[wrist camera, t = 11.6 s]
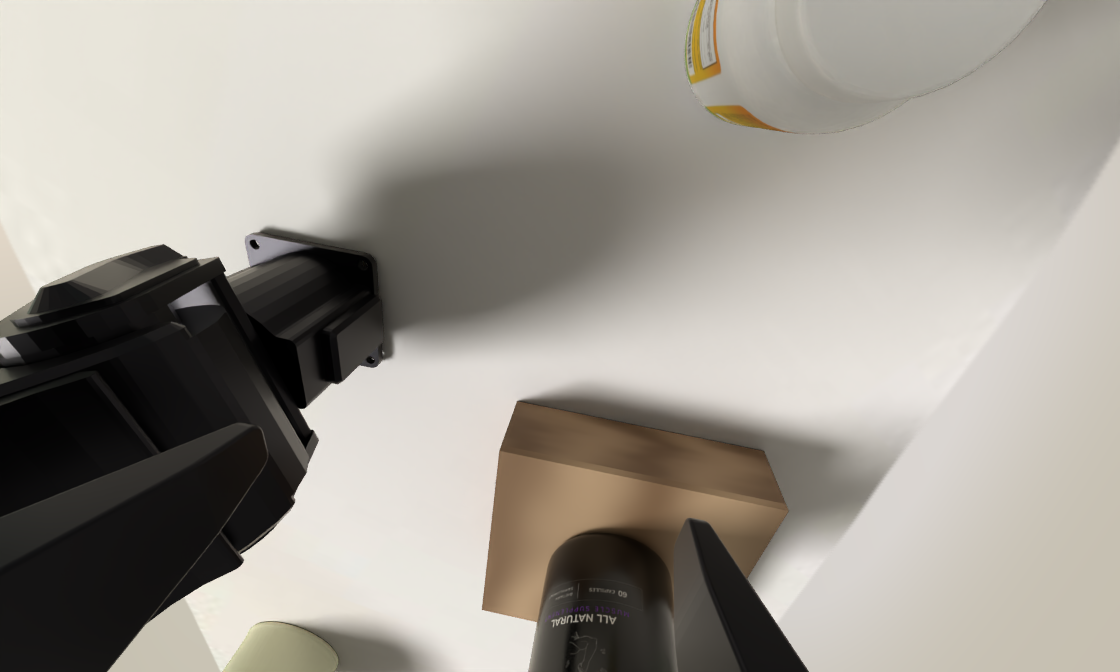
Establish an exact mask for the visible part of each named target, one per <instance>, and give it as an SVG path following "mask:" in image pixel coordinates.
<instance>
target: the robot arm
mask: <svg viewBox="0 0 1120 672" xmlns="http://www.w3.org/2000/svg"><path fill="white" fill-rule="evenodd" d="M256 241H257V242H258V243H259V245H260V246H258V245H257V243H256ZM245 245H246V250H247V254H248V259H249V263H250V267H248V268H246V269H244V270H241V271H239V272H237V273H234V274H232V275H230V276H227V277H226V276H225V274H224V272H225V271H226V270H225V268H224V266H223V264H222V262H221V261H220V259H219V257H214V258H207V259H200V260H197V258H187V256H182V255H181V254H179V253H177V252H176V251H174V250H172V249H171V248H169V247H167V246H166V245H164V244H162V245H156V246H150V247H147V248H143V249H140V250H137V251H133V252H130V253H126V254H123V255H120V256H116V257H113V258H110V259H107V260H103V261H100V262H98V263H95V264H92V265H89V266H87V267H85V268H82V269H80V270H78V271H76V272H74V273H71V274H69V275H67V276H65V277H62V278H60V279H58V280H56V281H53V282H51V283H49V284H47V285H44V286H42V287H41V288H40V290H39V291H38V293H37V295H36V297H35V299H34V300H33V301H31V302H30V303H28V304H26V305H25V306H23V307H22V308H20V309H18V310H17V311H15V312H14V313H12V314H11V315H9V316H7V317H6V318H4V319H3V320H1V321H0V672H107V671H108V670H109V669H110V668H111V666H112V665H113V664H114V663H115V662H116V660H117V659H118V658H119V657H120V655H121V654H122V653H123V652H124V650H125V649H126V648H127V647H128V645H129V644H130V643H131V642H132V641H133V639H134V638H135V637H136V636H137V634H138V633H139V632H140V631H141V629H142V628H143V627H144V626H145V625H146V624H147V623H148V622H149V621H150V620H152V619H153V618H155V617H156V616H157V615H159V614H160V613H161V612H163V611H164V610H165V609H167V608H168V607H169V606H170V605H172V604H174V603H175V602H177V601H178V600H180V599H182V598H183V597H185V596H186V595H188V594H190V593H191V592H193V591H194V590H196V589H198V588H199V587H201V586H202V585H204V584H206V583H208V582H210V581H213V580H215V579H217V578H219V577H221V576H223V575H225V574H227V573H229V572H231V571H233V570H235V569H237V568H238V567H240V566H241V565H242V563H243V561H244V559H243V557H242V556H241V555H240V554H242V553H243V552H245V551H247V550H248V549H250V548H251V547H252V546H254V545H255V544H256V543H258V542H259V541H260V540H262V539H263V538H264V537H265V536H266V535H267V534H268V533H269V532H270V531H272V530H273V529H274V528H275V526H276V525H277V524H278V523H279V522H280V521H281V520H282V519H283V517H284V516H285V515H286V514H287V513H288V512H289V511H290V510H291V509H292V507H293V505H294V503H295V499H294V494H295V492H296V490H297V488H298V486H299V484H300V483H301V481H302V479H303V478H304V476H305V474H306V473H307V467H308V463H309V461H310V459H311V457H312V455H313V452H314V450H315V448H316V446H317V444H318V441H319V439H318V438H317V436H316V434H315V432H314V431H313V430H310V428H309V427H308V425H307V423H306V421H305V419H304V417H303V416H302V414H301V412H300V410H299V408H300V409H304V408H306V407H307V406H308V405H309V404H310V403H311V402H312V401H313V400H314V399H315V398H317V397H318V396H319V395H320V394H321V393H322V392H323V391H324V390H325V389H326V388H327V387H328V386H329V385H330V384H331V383H333V384H339V383H341V382H342V381H344V380H345V379H346V378H347V377H348V376H349V375H350V374H351V373H352V372H353V371H354V370H355V369H356V368H357V367H358V366H359V365H361V366H366V367H371V368H374V367H377V366H378V365H379V364H380V363H381V361H382V358H383V357H382V342H383V341H384V332H383V315H382V301H381V299H380V297H379V293H378V278H377V264H376V261H375V259H374V257H372V256H371V255H370V254H367V253H363V252H358V251H353V250H348V249H342V248H337V247H332V246H327V245H321V244H316V243H311V242H306V241H301V240H295V239H290V238H285V237H280V236H274V235H269V234H264V233H253V234H250V235H248V236H246V238H245ZM362 260H363V261H365V262H366V263H367V266H368V268H367V267H365V266H364V265H363V264H362ZM370 356H371V357H373V358H374V360H373V359H371V358H370ZM674 638H675V650H676V659H677V669H678V672H809V671H808V670H807V668H806V667H805V665H804V664H803V662H802V661H801V659H800V658H799V656H798V655H797V653H796V652H795V650H794V649H793V647H792V646H791V644H790V643H789V641H788V640H787V638H786V637H785V636H784V634H783V632H782V631H781V629H780V628H779V626H778V625H777V623H776V622H775V620H774V619H773V617H772V616H771V614H770V613H769V611H768V610H767V608H766V607H765V605H764V604H763V602H762V601H761V599H760V598H759V596H758V595H757V593H756V592H755V590H754V589H753V587H752V586H751V584H750V583H749V581H748V580H747V578H746V577H745V575H744V574H743V572H742V571H741V569H740V568H739V566H738V565H737V564H736V562H735V561H734V559H733V558H732V556H731V555H730V553H729V552H728V550H727V549H726V547H725V546H724V544H723V543H722V541H721V540H720V538H719V537H718V535H717V534H716V532H715V531H714V529H713V528H712V526H711V525H710V524H709V523H708V522H707V521H704V520H700V519H695V518H687V519H686V520H685V522H684V524H683V526H682V529H681V531H680V533H679V535H678V537H677V540H676V542H675V546H674Z"/></svg>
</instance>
